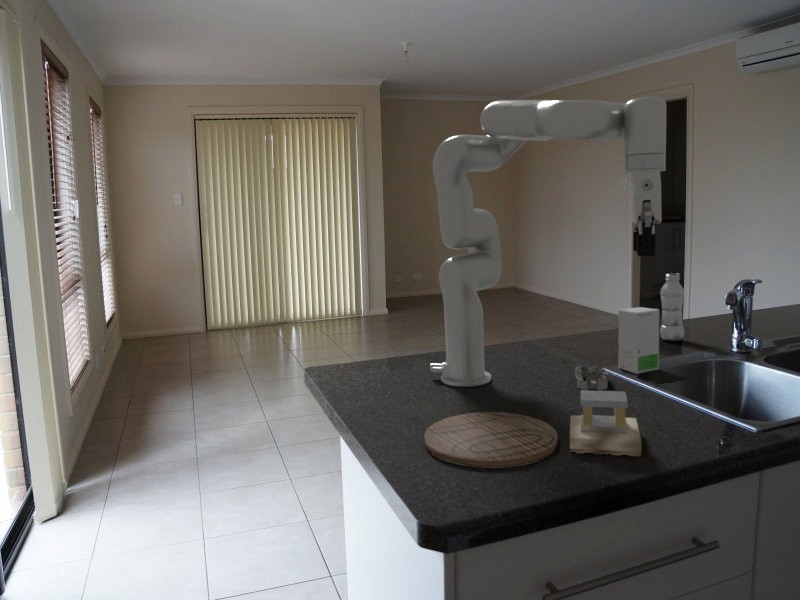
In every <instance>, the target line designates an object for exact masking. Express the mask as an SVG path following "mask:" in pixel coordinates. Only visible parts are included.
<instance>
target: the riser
mask: <svg viewBox="0 0 800 600" xmlns="http://www.w3.org/2000/svg"><path fill="white" fill-rule="evenodd" d="M625 418H626V423H627V434H614V433H592V432H581V415H572V414H570V421H569V423H570V425H569V453H570V452H576V453H575V454H584V453H593V454H592V455H602V454H605V455H606V454H607V455H608V454H611V455H610V456H621V455H628V457H640V456H641V457H642V437H641V434H640V433H641V432H640V430H639V424H638V422H637V417H626V416H625ZM607 455H606V456H607ZM608 456H609V455H608Z"/></svg>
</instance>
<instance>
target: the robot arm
mask: <svg viewBox="0 0 800 600" xmlns="http://www.w3.org/2000/svg"><path fill="white" fill-rule="evenodd" d="M479 122H480V126H481V129H482V131H484V133H485V134H486V135H479V134H478V135H475V134H459V135H453V136H451V137H448V138H447V139H445V140H444V141H442V142H441V144H440V145H439V146H438V148H437V149H436V151H435V153H434V155H433V160H432V171H433V179H434V183H435V188H436V195H437V207H438V216H439V217H438V218H439V226H440V228H439V229H440V235H441V236H440V237H441V239H442V242H443V244H444V245H445V246H446V247H447V248H449V249H451V250H464V249H467V250H468V253H464V254H463V253H462V254H458V255H453V256H451V257H449V258H447V259H446V260H445V261H443V263H442V264H441V266H440V268H439V272H438V281H439V285H440V290H441V294H442V295H441V296H442V301H443V308H444V309H443V311H444V313H443V315H444V329H445V330H444V331H445V333H444V334H445V337H444V338H445V359H446V361H443V362H442V363H437V362H436V363H435V362H433V363H432V362H431V363H430V365H429V370H430V371H431V372H433V373H437V374H438V373H441V376H440V381H441V382H442V383H443V384H444V385H447V386H451V387H459V388H460V387H461V388H462V387H463V388H465V387H467V388H469V387H478V386H483V385H486V384H488V383H490V382H491V380H492V375H491V373H490V372H488V371H486V370H485V369H486V368H485V335H484V333H485V332H484V331H485V330H484V310H483V305H482V302H481V300H480V297H479V295H478V292H479V291H482V290H486V289H489V288H493V287H494V286H496V284H497V283H498V282H499V281H500V279H501V275H502V267H503V265H502V254H501V252H502V251H501V243H500V232H499V227H498V222H497V220H496V218H495V217H494V215H493V214H492V213H491V212H490V211H488V210H486V209H483V208H475V206H474V197H473V196H474V193H473V190H472V187H471V184H470V181H469V180H468V178H467V177H466V173H468V172H469V173H470V172H476V173H477V172H485V173H486V172H492V171H494V170H497V169H499V168H500V167H502V166H503V165H504V164H505V163H506V162H508V160H509V159H510V158H511V157H512V156H513V155H514V154H516V152H518V151H519V149H520V148H522V147H523V146H524V144H525V143H526V142H527V141H529V142H531V141H536V142H548V141H549V140H569V141H570V140H572V141H587V142H589V141H590V142H618V141H622V140H624V141H623V145H624V146H623V154H624V155H623V174H630V187H629V188H630V215H631V221H632V223H634V227H633V228H634V229H633V231H632V232H633V233H632V234H633V237H632V239H633V241H632V244H633V245H632V247H633V248H632V249H633V252H636V256H638V257H654V256H656V243H657V242H656V240H657V239H656V234H655V233H656V230H655V224H657V225H659V224H660V223H662V219H663V218H662V215H663V214H662V179H661V178H662V177H661V172H666V167H667V166H666V165H667V163H666V158H667V157H666V156H667V154H666V153H667V102H666V100H665V98H663V97H659V96H645V97H638V98H632V99H630V100H628V101H627V102H626V103H625V102H623V103H622V102H614V101H613V102H612V101H605V100H596V99H595V100H594V99H576V100H575V99H574V100H573V99H570V100H569V99H566V100H565V99H564V100H563V99H562V100H551V99H501V100H495V101H493V102H491V103H489V104H488V105H486V106H485V107H484V108H483V109H482V112H481V113H480V119H479Z"/></svg>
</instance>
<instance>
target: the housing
mask: <svg viewBox="0 0 800 600" xmlns="http://www.w3.org/2000/svg"><path fill="white" fill-rule="evenodd" d="M581 407H582V414H580V416H581V432H592V433H614V434H627V423H626V418H627V417H626V409H628V398H627V392H626V391H618V390H616V391H615V390H589V389H588V390H583V389H581V390H580V408H581ZM593 408H610V409H611V408H612V409H613V415H599V414H598V415H597V414H596V415H595V414H593ZM625 417H626V418H625Z"/></svg>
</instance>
